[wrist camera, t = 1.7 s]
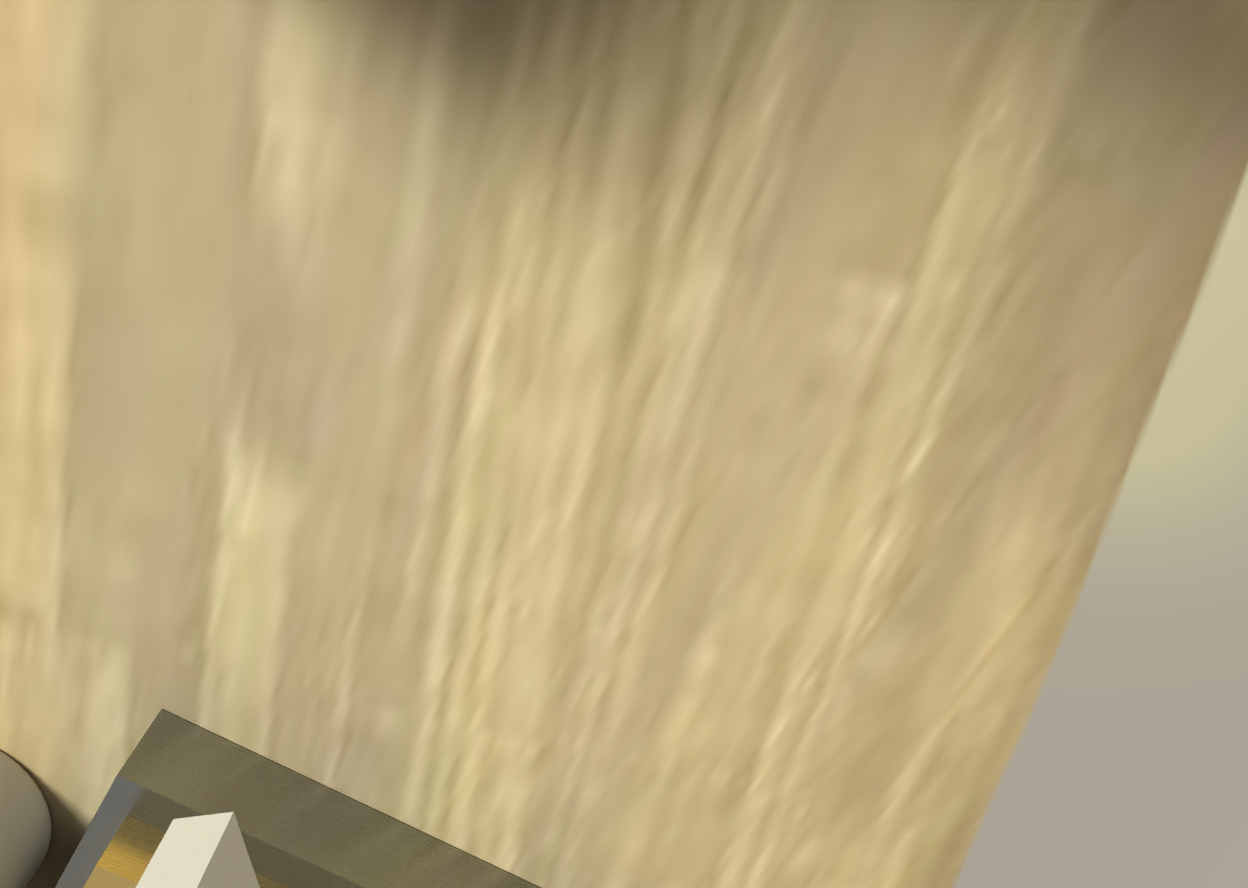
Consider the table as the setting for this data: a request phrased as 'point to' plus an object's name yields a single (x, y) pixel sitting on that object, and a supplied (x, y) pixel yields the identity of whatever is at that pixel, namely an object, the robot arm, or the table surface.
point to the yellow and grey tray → (259, 822)
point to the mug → (21, 825)
